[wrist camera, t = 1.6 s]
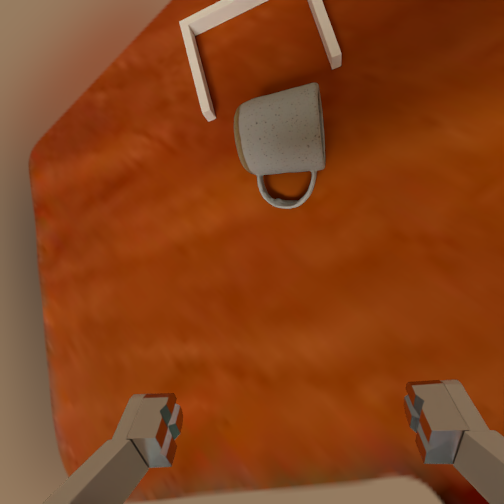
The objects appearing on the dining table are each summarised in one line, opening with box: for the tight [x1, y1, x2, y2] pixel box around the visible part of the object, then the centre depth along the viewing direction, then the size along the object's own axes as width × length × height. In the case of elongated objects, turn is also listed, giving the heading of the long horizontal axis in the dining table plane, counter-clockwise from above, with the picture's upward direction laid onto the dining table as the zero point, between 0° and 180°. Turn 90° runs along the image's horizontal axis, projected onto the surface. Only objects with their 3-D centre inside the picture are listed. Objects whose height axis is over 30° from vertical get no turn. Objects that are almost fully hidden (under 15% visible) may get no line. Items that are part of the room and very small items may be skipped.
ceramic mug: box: [234, 83, 325, 209], centre depth 30 cm, size 11×8×8 cm
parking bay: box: [179, 0, 342, 122], centre depth 35 cm, size 16×13×2 cm
